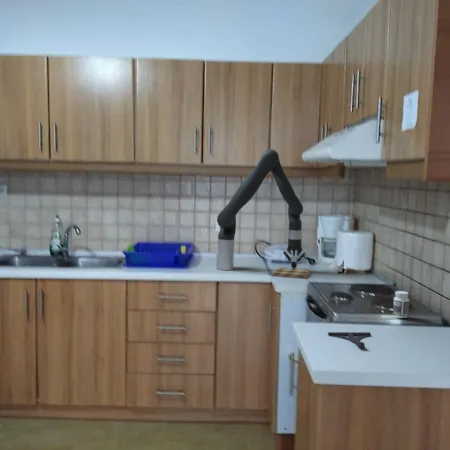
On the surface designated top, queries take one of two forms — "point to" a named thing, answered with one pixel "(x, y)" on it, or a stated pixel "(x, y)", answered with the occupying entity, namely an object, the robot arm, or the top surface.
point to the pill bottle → (401, 303)
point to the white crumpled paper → (337, 268)
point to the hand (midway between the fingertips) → (294, 268)
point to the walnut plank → (290, 274)
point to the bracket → (352, 337)
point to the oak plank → (293, 270)
